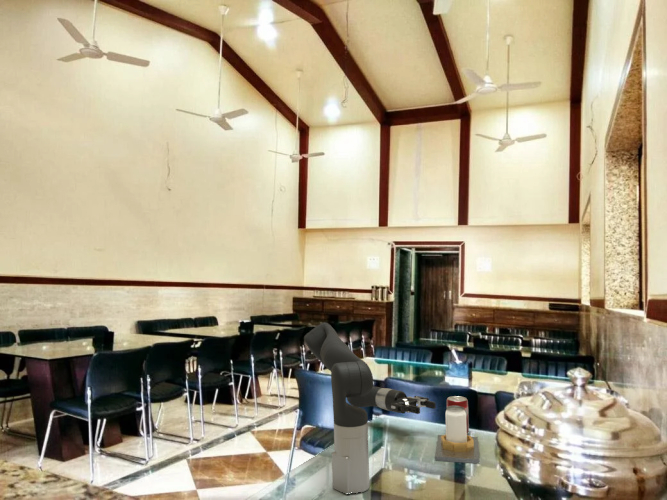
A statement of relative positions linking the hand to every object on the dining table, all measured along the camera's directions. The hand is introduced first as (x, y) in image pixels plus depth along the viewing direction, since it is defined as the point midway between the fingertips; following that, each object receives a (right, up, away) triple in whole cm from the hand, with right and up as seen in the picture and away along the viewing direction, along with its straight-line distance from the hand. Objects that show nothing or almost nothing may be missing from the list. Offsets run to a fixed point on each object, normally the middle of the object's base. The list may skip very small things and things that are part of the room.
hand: (427, 408), depth 166 cm
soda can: (+12, -11, +7) cm, 18 cm away
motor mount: (+8, -11, -9) cm, 16 cm away
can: (+8, -10, -9) cm, 15 cm away
